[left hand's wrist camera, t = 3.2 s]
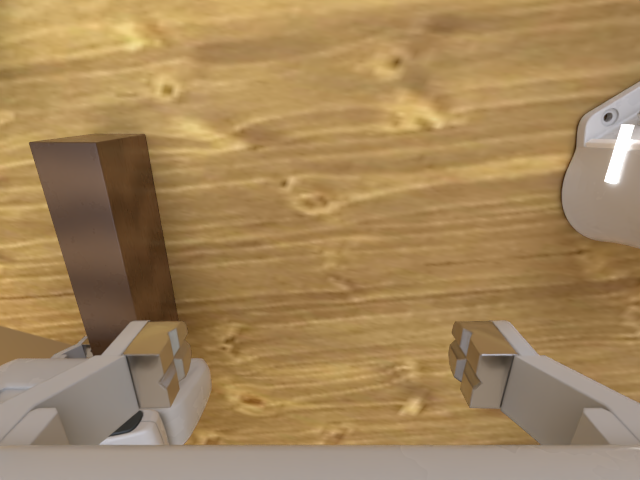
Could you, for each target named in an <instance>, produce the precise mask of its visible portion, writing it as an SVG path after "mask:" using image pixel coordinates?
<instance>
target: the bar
mask: <svg viewBox="0 0 640 480" xmlns="http://www.w3.org/2000/svg"><path fill="white" fill-rule="evenodd" d="M29 145H30V148H31V151H32V154H33V158H34V161H35V164H36V168H37V171H38V174H39V178H40V181H41V184H42V188H43V191H44V194H45V198H46V201H47V204H48V208H49V211H50V214H51V218H52V221H53V224H54V228H55V231H56V234H57V238H58V241H59V244H60V247H61V251H62V254H63V257H64V261H65V264H66V267H67V271H68V274H69V277H70V281H71V284H72V287H73V291H74V294H75V297H76V301H77V304H78V307H79V311H80V314H81V317H82V321H83V324H84V327H85V330H86V334H87V337H88V340H89V344H90V347H91V350H92V354H93V356H95V355H102V353H103V352H104V351H105V350H106V349H107V348H108V347H109V346H110V344H111V343H112V342H113V341H114V340H115V339H116V338H117V337H118V335H119V334H120V333H121V332H122V331H123V330H124V329H125V328H126V326H127V325H128V324H129V323H130V322H132V321H135V320H149V321H151V320H154V321H178V316H177V311H176V305H175V299H174V294H173V288H172V283H171V277H170V272H169V266H168V260H167V255H166V249H165V244H164V238H163V233H162V227H161V221H160V216H159V210H158V205H157V199H156V193H155V188H154V182H153V177H152V171H151V166H150V160H149V154H148V149H147V143H146V138H145V134H89V135H82V136H74V137H66V138H58V139H50V140H43V141H35V142H29Z"/></svg>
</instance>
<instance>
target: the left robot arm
mask: <svg viewBox="0 0 640 480" xmlns="http://www.w3.org/2000/svg"><path fill="white" fill-rule="evenodd" d="M606 114H607V118H606V119H605V120H604V116H605V115H606ZM562 205H563V210H564V213H565V215H566V218H567V220H568V221H569V223H570V224H571V225H572V227H573V228H574V229H575V230H576V231H578V232H579V233H580V234H582V235H583V236H585V237H588V238H590V239H593V240H597V241H603V242H613V243H619V244H624V245H628V246H632V247H636V248H639V249H640V81H639V82H638V83H636V84H634V85H633V86H631V87H629V88H628V89H626V90H624V91H623V92H621V93H619V94H618V95H616V96H614V97H613V98H611V99H609V100H608V101H606V102H604V103H603V104H601V105H599V106H598V107H596V108H594V109H593V110H591V111H589V112H588V113H586V114H585V115H584V116H583V117H582V119H581V120H580V122H579V125H578V131H577V144H576V150H575V153H574V156H573V158H572V160H571V162H570V164H569V167H568V169H567V172H566V174H565V177H564V181H563V187H562ZM187 334H188V330H187V325H186V323H185V322H184V321H154V320H151V321H149V320H135V321H132V322H130V323H129V324H128V325H127V326H126V328H125V329H124V330H123V331H122V332H121V333H120V334H119V335H118V337H117V338H116V339H115V340H114V341H113V342H112V343H111V344H110V346H109V347H108V348H107V349H106V350H105V351H104V352H103V353H102V355H95V356H93V357H91V358H89V359H87V360H85V361H83V362H81V363H79V364H77V365H75V366H73V367H71V368H69V369H67V370H65V371H63V372H61V373H59V374H57V375H56V376H54V377H52V378H50V379H48V380H46V381H44V382H42V383H40V384H38V385H36V386H34V387H32V388H30V389H28V390H26V391H24V392H22V393H20V394H18V395H16V396H14V397H12V398H10V399H8V400H6V401H4V402H2V403H0V480H640V403H638V402H636V401H634V400H632V399H630V398H628V397H626V396H624V395H622V394H620V393H618V392H616V391H614V390H612V389H610V388H608V387H606V386H604V385H602V384H600V383H598V382H596V381H594V380H592V379H590V378H588V377H586V376H584V375H582V374H580V373H578V372H576V371H574V370H573V369H571V368H569V367H567V366H565V365H563V364H561V363H559V362H557V361H555V360H553V359H551V358H549V357H547V356H545V355H538V353H537V352H536V351H535V350H534V349H533V348H532V347H531V346H530V344H529V343H528V342H527V341H526V340H525V339H524V338H523V337H522V335H521V334H520V333H519V332H518V331H517V330H516V329H515V328H514V326H513V325H512V324H511V323H510V322H508V321H506V320H495V321H459V322H455V323H454V325H453V329H452V334H453V336H454V338H455V340H454V341H453V342H452V343H451V344H450V347H449V365H450V368H451V371H452V373H453V375H454V377H455V378H456V379H457V380H459V381H460V382H461V388H460V390H461V392H462V394H463V396H464V398H465V400H466V402H467V404H468V406H469V408H494V409H501V411H502V412H503V413H504V414H506V415H507V416H508V417H509V418H510V419H512V420H513V421H514V422H515V423H516V424H517V425H519V426H520V427H521V428H522V429H523V430H525V431H526V432H527V433H528V434H529V435H530V436H532V437H533V438H534V439H535V440H536V441H538V442H539V443H540V444H541V445H99V444H100V443H101V442H103V441H104V440H105V439H106V438H107V437H108V436H110V435H111V434H112V433H113V432H114V431H116V430H117V429H118V428H119V427H120V426H122V425H123V424H124V423H125V422H126V421H127V420H129V419H130V418H131V417H132V416H133V415H135V414H136V413H137V412H138V411H139V409H145V408H171V406H172V404H173V402H174V400H175V398H176V396H177V394H178V392H179V390H180V388H179V382H180V381H181V380H183V379H184V378H185V377H186V375H187V373H188V371H189V368H190V363H191V347H190V344H189V343H188V342H187V341H186V340H185V338H186V336H187Z"/></svg>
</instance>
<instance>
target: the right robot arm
mask: <svg viewBox="0 0 640 480" xmlns="http://www.w3.org/2000/svg"><path fill="white" fill-rule="evenodd" d="M91 357H93V354H92V350H91V347H90V344H89V340H88V337H87V336H84V337H83V338H82V339H81V340H80V341H79V342H78V343H77V344H76V345H73V346H71V347H69V348H67V349H65V350H63V351H60V352H58V353H56V354H54V355H53V356H52V357H51V358H35V359H34V358H30V359H29V358H20V359H15V360H12V361H10V362H7V363H5V364H3V365H1V366H0V403H2V402H4V401H6V400H8V399H10V398H12V397H14V396H16V395H18V394H20V393H22V392H24V391H26V390H28V389H30V388H32V387H34V386H36V385H38V384H40V383H42V382H44V381H46V380H48V379H50V378H52V377H54V376H56V375H57V374H59V373H61V372H63V371H65V370H67V369H69V368H71V367H73V366H75V365H77V364H79V363H81V362H83V361H85V360H87V359H89V358H91ZM179 388H180V390H179V392H178V394H177V396H176V398H175V400H174V402H173V404H172V406H171V408H145V409H139V411H138V412H137V413H136V414H135V415H133V416H132V417H131V418H130V419H129V420H127V421H126V422H125V423H124V424H123V425H122V426H120V427H119V428H118V429H117V430H116V431H114V432H113V433H112V434H111V435H110V436H108V437H107V438H106V439H105V440H104V441H103V442H101V443H100V444H99V445H184V444H185V442H186V441H187V440H188V439H189V437H190V436H191V434H192V432H193V431H194V429H195V427H196V425H197V423H198V421H199V419H200V417H201V415H202V413H203V411H204V409H205V406H206V404H207V401H208V399H209V396H210V393H211V388H212V383H211V374H210V369H209V367H208V365H207V363H206V362H205V360H204V359H202V358H191V363H190V368H189V371H188V373H187V375H186V377H185V378H184V379H183V380H181V381H180V382H179Z"/></svg>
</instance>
